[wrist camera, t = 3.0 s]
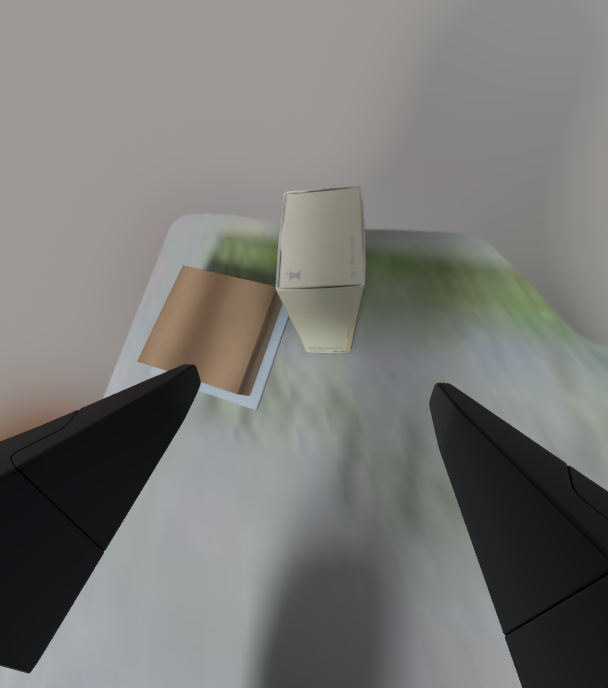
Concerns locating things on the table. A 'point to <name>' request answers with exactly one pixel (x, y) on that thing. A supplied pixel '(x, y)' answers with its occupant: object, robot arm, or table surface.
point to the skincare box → (322, 265)
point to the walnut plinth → (214, 328)
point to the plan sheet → (263, 372)
